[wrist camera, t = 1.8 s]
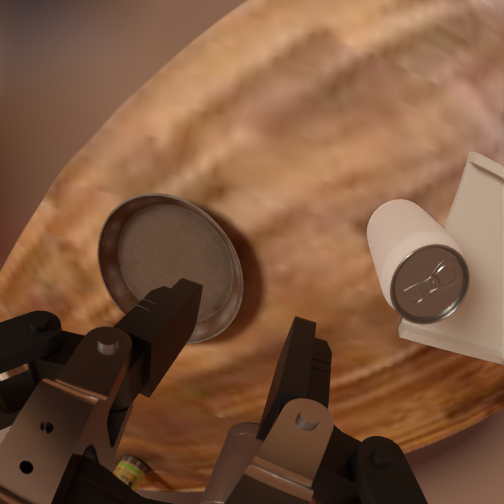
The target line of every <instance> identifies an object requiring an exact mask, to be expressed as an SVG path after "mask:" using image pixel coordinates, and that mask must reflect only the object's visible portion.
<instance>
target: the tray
mask: <svg viewBox="0 0 504 504" xmlns="http://www.w3.org/2000/svg"><path fill="white" fill-rule="evenodd" d="M444 229H445V230H446V231H447V232H448V233H449V234H450V235H451V236H452V237H453V238H454V239H455V240H456V241H457V243H458V244H459V245H460V247H461V248H462V250H463V252H464V255H465V258H466V262H467V265H468V268H469V274H470V283H469V289H468V292H467V295H466V297H465V299H464V301H463V302H462V304H461V305H460V307H459V308H458V309H457V310H456V311H455V312H454V313H453V314H452V315H450V316H449V317H447V318H446V319H444V320H442V321H440V322H437V323H433V324H427V325H420V324H414V323H411V322H409V321H407V320H405V319H404V318H403V319H402V321H401V323H400V325H399V326H398V331H399V335H400V338H404V339H407V340H411V341H415V342H418V343H422V344H425V345H429V346H433V347H436V348H440V349H444V350H447V351H451V352H455V353H459V354H463V355H466V356H470V357H474V358H478V359H482V360H486V361H490V362H494V363H498V364H502V365H504V167H503V166H501V165H499V164H497V163H496V162H494V161H492V160H490V159H488V158H486V157H485V156H483V155H481V154H479V153H476V152H471V151H470V152H469V155H468V159H467V162H466V166H465V169H464V172H463V175H462V178H461V182H460V185H459V188H458V191H457V194H456V197H455V199H454V202H453V205H452V208H451V211H450V213H449V216H448V219H447V221H446V224H445V227H444Z"/></svg>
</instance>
